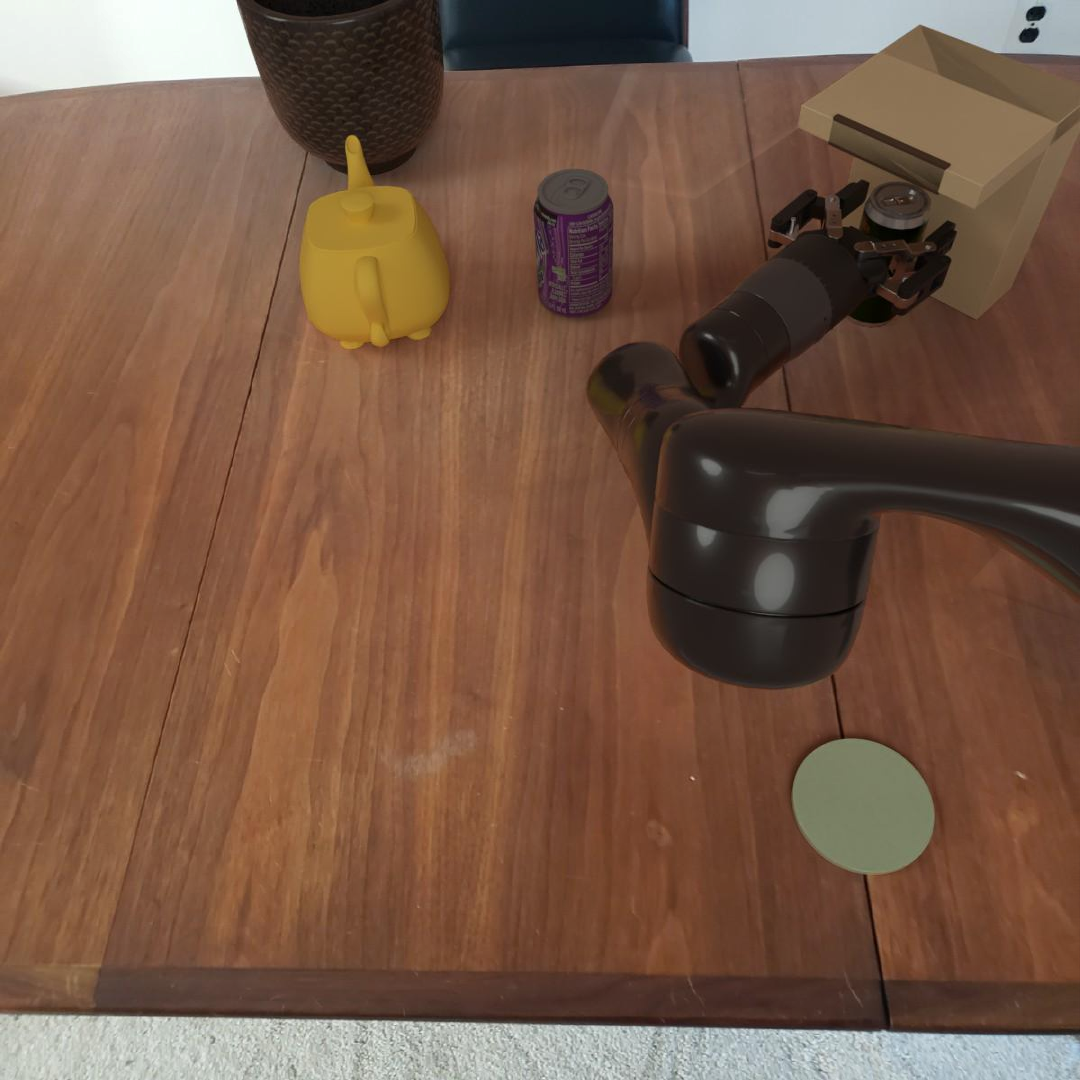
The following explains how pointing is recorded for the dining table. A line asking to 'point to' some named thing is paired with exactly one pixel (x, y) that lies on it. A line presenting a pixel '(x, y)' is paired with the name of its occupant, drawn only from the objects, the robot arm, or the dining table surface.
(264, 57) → the planter
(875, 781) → the coaster
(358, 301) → the teapot
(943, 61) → the lidded cardboard box
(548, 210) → the beverage can
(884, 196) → the beer can
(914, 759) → the dining table surface
